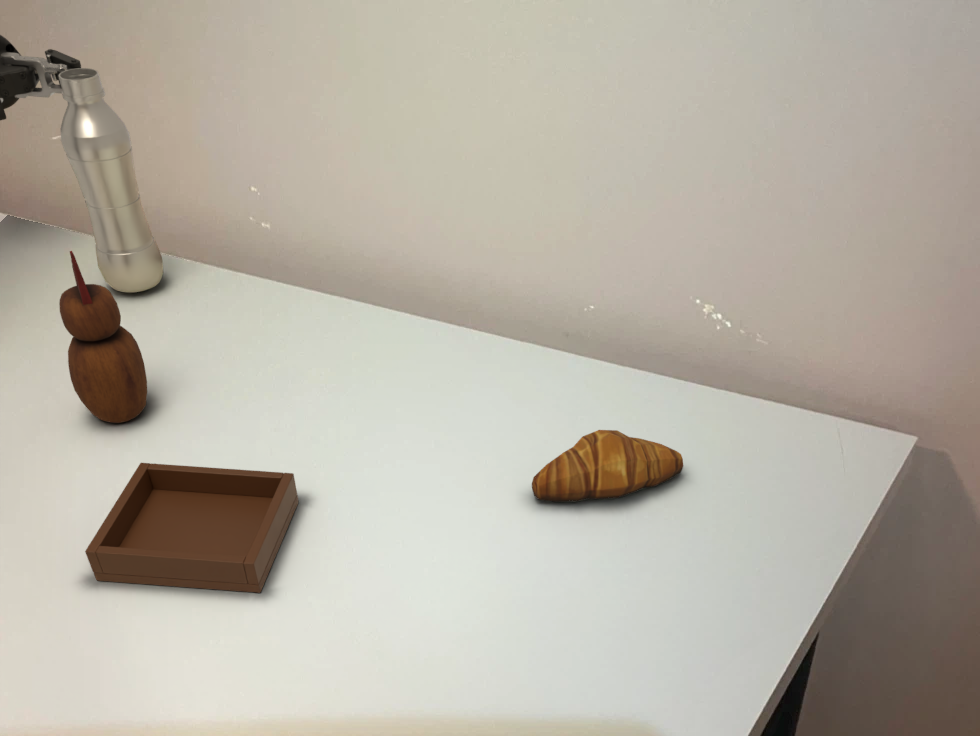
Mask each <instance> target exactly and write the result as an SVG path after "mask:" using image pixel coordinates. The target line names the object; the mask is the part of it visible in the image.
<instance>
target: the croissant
mask: <svg viewBox="0 0 980 736" xmlns="http://www.w3.org/2000/svg"><path fill="white" fill-rule="evenodd" d="M683 469H684V459H683V456H682V453H680V452H679V451H677V450H675V449H673V448H671V447H670V446H669V447H668V446H667V445H664V444H662V443H660V442H656V441H651V440H647V439H645V438H644V439H643V438H640V437H633V436H628V435H627V434H625V433H622V432H621V431H619V430H615V429H598V430H595V431H593V432H590V433H588V434H585V435H583V436H581V437H580V439H579V440H578V441H577V442H576V443H575V444H574V445H573V446H572V447H570V448H569V449H567V450H565V451H563V452H562V453H560V454H559V455H558V456H557V457H555V458H554V459H552V460H551V461H550V462H548V463H546V464H545V465H544V466H543V467H542V469H540V470H539V471H538V472H537V473H536V474H535V475H534V476H533V478H532V481H531V488H532V492H533V496H534V498H536V499H537V500H539V501H548V502H553V503H562V502H563V503H565V502H567V503H568V502H570V503H571V502H574V503H575V502H581V501H584V500H610V499H619V498H623V497H625V496H628V495H632V494H634V493H637V492H638V491H641V490H643V489H649V488H654V487H657V486H658V485H660V484H664V483H665V482H668V481H670V480H672V479H673V478H675V477H676V476H678V475H679V474H681V473H682V471H683Z"/></svg>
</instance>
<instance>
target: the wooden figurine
mask: <svg viewBox="0 0 980 736" xmlns="http://www.w3.org/2000/svg"><path fill="white" fill-rule="evenodd" d="M69 255H70V261H71V262H70V263H71V267H72V273H73V276H74V280H75V286H72V287H69V288H67V289H66V290H64V291H63V292H62V293H61V296H60V298H59V302H58V303H59V314H60V317H61V320H62V321H61V322H62V323H63V326H64V327H65V330H66V331H67V332H68V333H69V335H70V336H72V338H71V341H70V343H69V346H68V350H67V363H68V372H69V377H70V380H71V383H72V387H73V389H74V392H75V394H76V395H77V396H78V398H79V400H80V401H81V403H82V404H83V405H84V406H85V408H86V409H87V410H88V411H89V413H91V414H92V416H94V417H95V418H97V419H98V420H101V421H103V422H107V423H114V424H120V423H126V422H129V421H131V420H133V419H135V418H137V417H138V416H139V415H140V414H141V413H142V412H143V410H144V409H145V408H146V405H147V397H148V377H147V372H146V367H145V361H144V358H143V355H142V352H141V349H140V346H139V344H138V342H137V340H136V339H135V338H134V337H135V336H133V334H132V333H131V332H129V330H128V329H126V328H125V327H123V326H121V322H122V321H121V320H122V315H121V311H120V308H119V305H118V303H117V301H116V298H115V297H114V296H113V294H112V292H111V291H110V290H109V289H108V288H106V287H105V286H103V285H101V284H100V285H99V284H94V283H86V282H85V280H84V277H83V275H82V272H81V268H80V267H79V264H78V262H77V261H78V260H77V259H76V257H75V254H74V252H73V250H69Z"/></svg>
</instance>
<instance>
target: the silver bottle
mask: <svg viewBox="0 0 980 736" xmlns="http://www.w3.org/2000/svg"><path fill="white" fill-rule="evenodd" d="M59 81H60V84H61V88H62V94H61V96H62V98H63V100H64V101H66V102H67V107H66V109H65V111H64V115H63V117H62V121H61V124H60V131H59V132H60V143H61V145H62V148H63V151H64V152H65V155H66V158H67V159H68V162H69V165H70V167H71V168H72V171H73V173H74V175H75V177H76V181H77V182H78V185H79V188H80V191H81V194H82V197H83V199H84V201H85V205H86V208H87V211H88V215H89V220H90V225H91V228H92V234H93V238H94V243H95V255H96V261H97V266H98V270H99V271H100V274H101V275H102V278H103V279H104V281H105V283H106V284H108V285H109V286H110V287H111V288H112V289H113V290H115V291H117V292H122V293H137V292H138V293H139V292H144V291H147V290H150V289H152V288H155V287H156V286H158V285H159V283H160V282H161V281H162V278H163V274H164V263H163V256H162V254H161V251H160V248H159V246H158V244H157V241H156V239H155V237H154V235H153V233H152V230H151V228H150V224H149V221H148V219H147V215H146V213H145V210H144V207H143V203H142V200H141V195H140V193H139V185H138V181H137V176H136V169H135V162H134V154H133V153H134V152H133V146H132V140H131V134H130V131H129V129H128V127H127V125H126V124H125V122H124V121H123V119H122V118H121V117H120V116H119V114H117V112H116V111H115V110H114V109H113V108H112V107H111V106H110V105H109V104H108V103H107V102H106V100H105V98H104V97H105V96H106V91H105V87H103V83H102V79H101V76H100V73H99V71H98V70H97V69H95V68H89V67H81V68H76V69H70V70H66V71H63V72H61V73H60V74H59ZM59 81H58V82H59ZM60 84H59V85H60Z"/></svg>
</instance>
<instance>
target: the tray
mask: <svg viewBox="0 0 980 736" xmlns="http://www.w3.org/2000/svg"><path fill="white" fill-rule="evenodd" d="M299 501H300V500H299V496H298V491H297V485H296V479H295V473H293V472H281V471H266V470H265V471H264V470H250V469H237V468H224V467H223V468H220V467H208V466H207V467H206V466H194V465H192V466H191V465H180V464H179V465H178V464H165V463H151V462H149V463H148V462H140V463H139V465H138V466H137V468H136V470H135V471H134V473H133V474H132V476H131V477H130V479H129V480H128V482H127V484H126V485H125V487H124V488H123V490H122V491H121V494H120V495H119V496H118V498H117V500H116V501H115V503H114V504H113V506H112V507H111V508H110V510H109V513H108V514H107V515H106V518H104V520H103V522H102V523H101V525H100V527H99V529H98V530H97V532H96V533H95V535H94V536H93V538H92V539H91V541H90V543H89V544H88V546H87V548H86V549H85V551H84V552H85V555H86V557H87V560H88V563H89V565H90V568H91V570H92V571H91V572H93V575H94V578H95V580H96V581H98V582H100V581H101V582H110V583H123V584H124V583H126V584H139V585H150V586H151V585H152V586H165V587H178V588H190V589H204V590H205V589H206V590H218V591H230V592H231V591H232V592H245V593H246V592H247V593H258V594H260V593H261V592H262V590H263V588H264V586H265V583H266V581H267V579H268V575H269V574H270V571H271V569H272V566H273V564H274V561H275V560H276V557H277V554H278V552H279V550H280V548H281V545H282V543H283V540H284V538H285V535H286V533H287V530H288V528H289V526H290V524H291V521H292V519H293V516H294V514H295V511H296V509H297V507H298V504H299Z"/></svg>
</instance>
